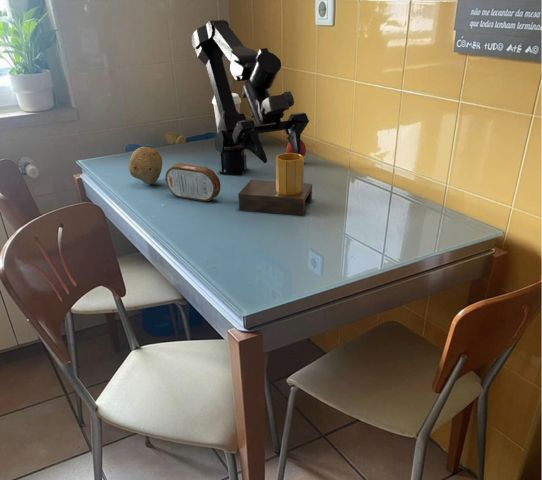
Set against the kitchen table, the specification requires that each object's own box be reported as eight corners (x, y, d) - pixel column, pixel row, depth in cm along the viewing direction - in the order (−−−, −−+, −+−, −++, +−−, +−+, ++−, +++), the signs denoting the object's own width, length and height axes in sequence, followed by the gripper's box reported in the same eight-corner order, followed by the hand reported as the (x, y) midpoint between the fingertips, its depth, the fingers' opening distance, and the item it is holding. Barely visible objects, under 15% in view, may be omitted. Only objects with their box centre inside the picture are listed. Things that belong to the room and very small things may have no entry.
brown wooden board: (239, 210, 132) (238, 193, 130) (251, 195, 141) (251, 179, 139) (303, 216, 129) (303, 198, 127) (311, 200, 138) (312, 183, 135)
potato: (134, 191, 145) (128, 153, 139) (129, 181, 152) (122, 144, 146) (168, 186, 148) (163, 149, 142) (161, 177, 154) (156, 141, 149)
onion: (305, 160, 166) (306, 132, 162) (305, 165, 161) (305, 137, 157) (287, 159, 167) (287, 132, 162) (285, 165, 162) (285, 137, 157)
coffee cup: (211, 146, 180) (208, 97, 171) (218, 139, 188) (215, 92, 179) (239, 147, 179) (237, 98, 170) (245, 140, 186) (243, 92, 178)
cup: (273, 194, 130) (272, 160, 125) (280, 185, 135) (279, 152, 130) (299, 196, 128) (300, 161, 124) (305, 186, 133) (305, 153, 129)
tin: (222, 200, 138) (219, 167, 133) (216, 204, 136) (213, 171, 131) (172, 192, 144) (168, 160, 139) (165, 196, 141) (161, 164, 136)
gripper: (234, 83, 121) (258, 145, 119) (306, 75, 128) (329, 134, 126) (222, 114, 131) (244, 172, 129) (289, 105, 138) (311, 160, 136)
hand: (283, 159), depth 130 cm, fingers open, 9 cm apart
